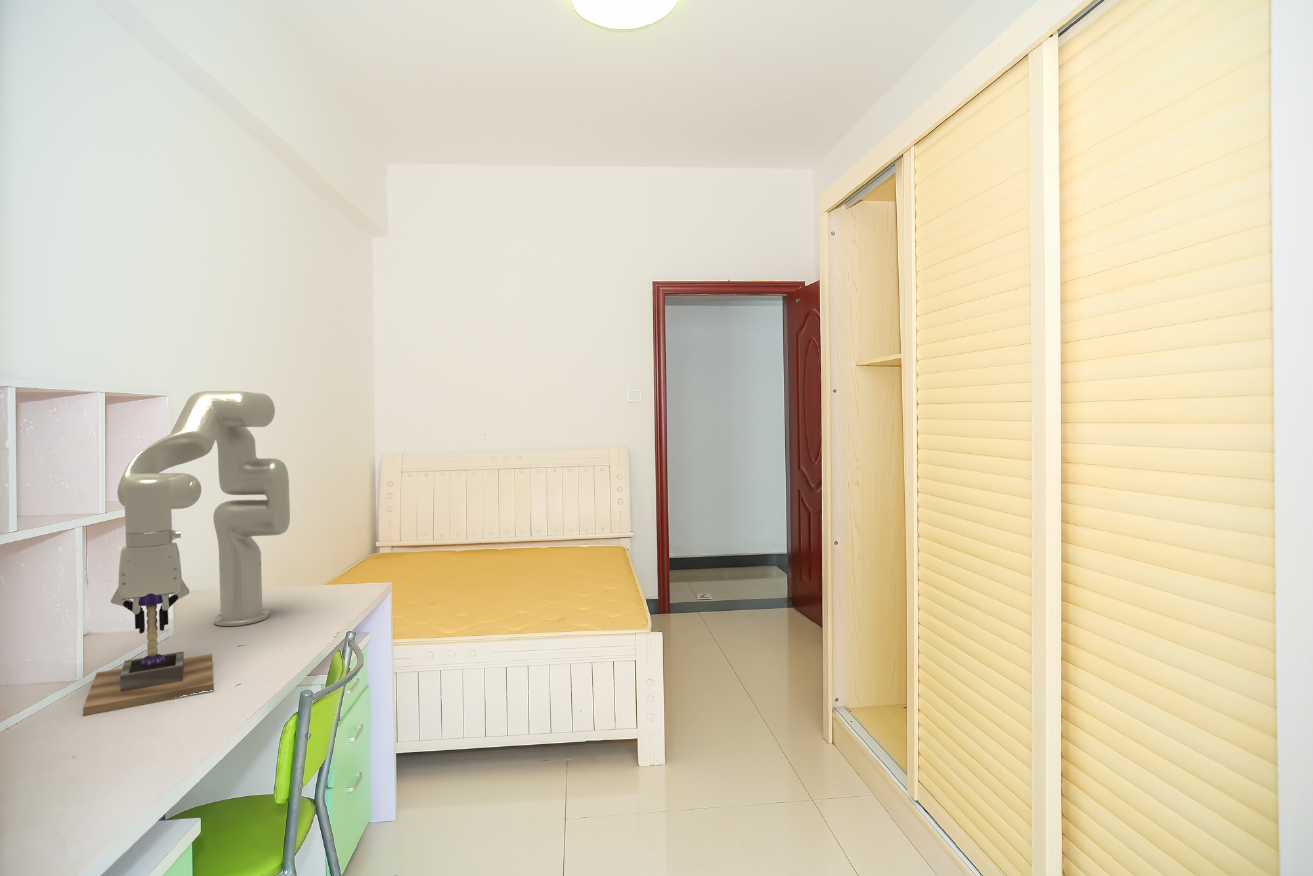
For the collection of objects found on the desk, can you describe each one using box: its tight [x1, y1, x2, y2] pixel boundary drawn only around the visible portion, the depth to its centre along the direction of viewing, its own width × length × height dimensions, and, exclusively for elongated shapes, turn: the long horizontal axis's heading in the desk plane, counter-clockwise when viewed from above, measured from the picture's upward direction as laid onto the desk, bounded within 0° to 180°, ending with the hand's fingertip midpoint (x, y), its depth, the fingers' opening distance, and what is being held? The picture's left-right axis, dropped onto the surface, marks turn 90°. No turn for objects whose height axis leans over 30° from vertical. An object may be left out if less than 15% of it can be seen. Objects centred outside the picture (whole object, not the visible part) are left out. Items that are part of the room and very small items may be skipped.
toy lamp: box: [138, 593, 166, 668], centre depth 140 cm, size 5×5×17 cm
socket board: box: [82, 651, 214, 717], centre depth 141 cm, size 20×20×4 cm
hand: (152, 629), depth 140 cm, fingers closed on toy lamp, 2 cm apart
